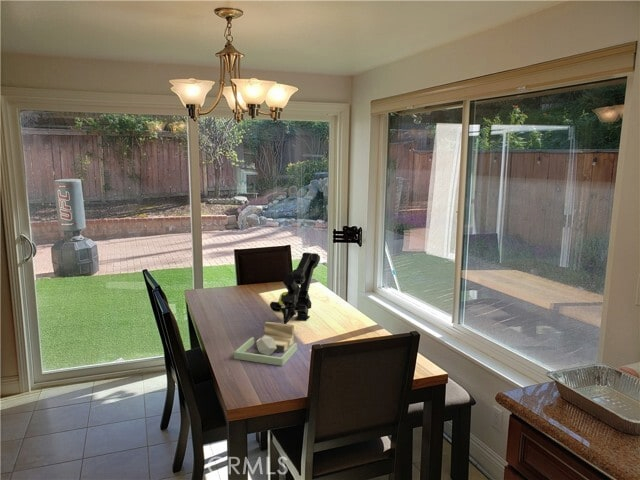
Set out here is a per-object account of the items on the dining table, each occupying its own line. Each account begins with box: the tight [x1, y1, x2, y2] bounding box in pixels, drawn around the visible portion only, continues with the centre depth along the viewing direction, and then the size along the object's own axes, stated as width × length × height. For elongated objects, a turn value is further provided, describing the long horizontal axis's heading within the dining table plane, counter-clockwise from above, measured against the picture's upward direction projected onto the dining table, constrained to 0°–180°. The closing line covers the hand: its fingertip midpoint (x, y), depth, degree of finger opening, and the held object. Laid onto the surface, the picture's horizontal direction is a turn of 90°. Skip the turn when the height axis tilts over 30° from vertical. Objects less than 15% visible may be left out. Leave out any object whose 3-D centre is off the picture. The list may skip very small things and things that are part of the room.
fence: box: [233, 336, 298, 367], centre depth 209 cm, size 18×22×3 cm
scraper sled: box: [254, 321, 295, 354], centre depth 218 cm, size 13×14×8 cm
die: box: [256, 334, 277, 356], centre depth 209 cm, size 8×9×10 cm
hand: (284, 323), depth 229 cm, fingers closed
